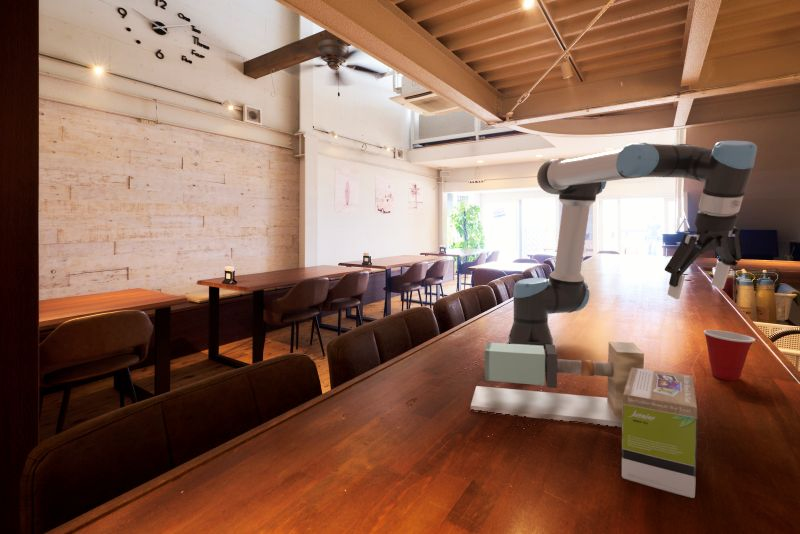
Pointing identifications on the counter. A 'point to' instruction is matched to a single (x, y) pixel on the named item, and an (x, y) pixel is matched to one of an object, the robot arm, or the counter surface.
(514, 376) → the sleeve
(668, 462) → the tea box
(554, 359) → the dark grey square plate
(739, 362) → the plastic cup
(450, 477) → the counter surface
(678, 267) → the robot arm
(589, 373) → the pipe stand
